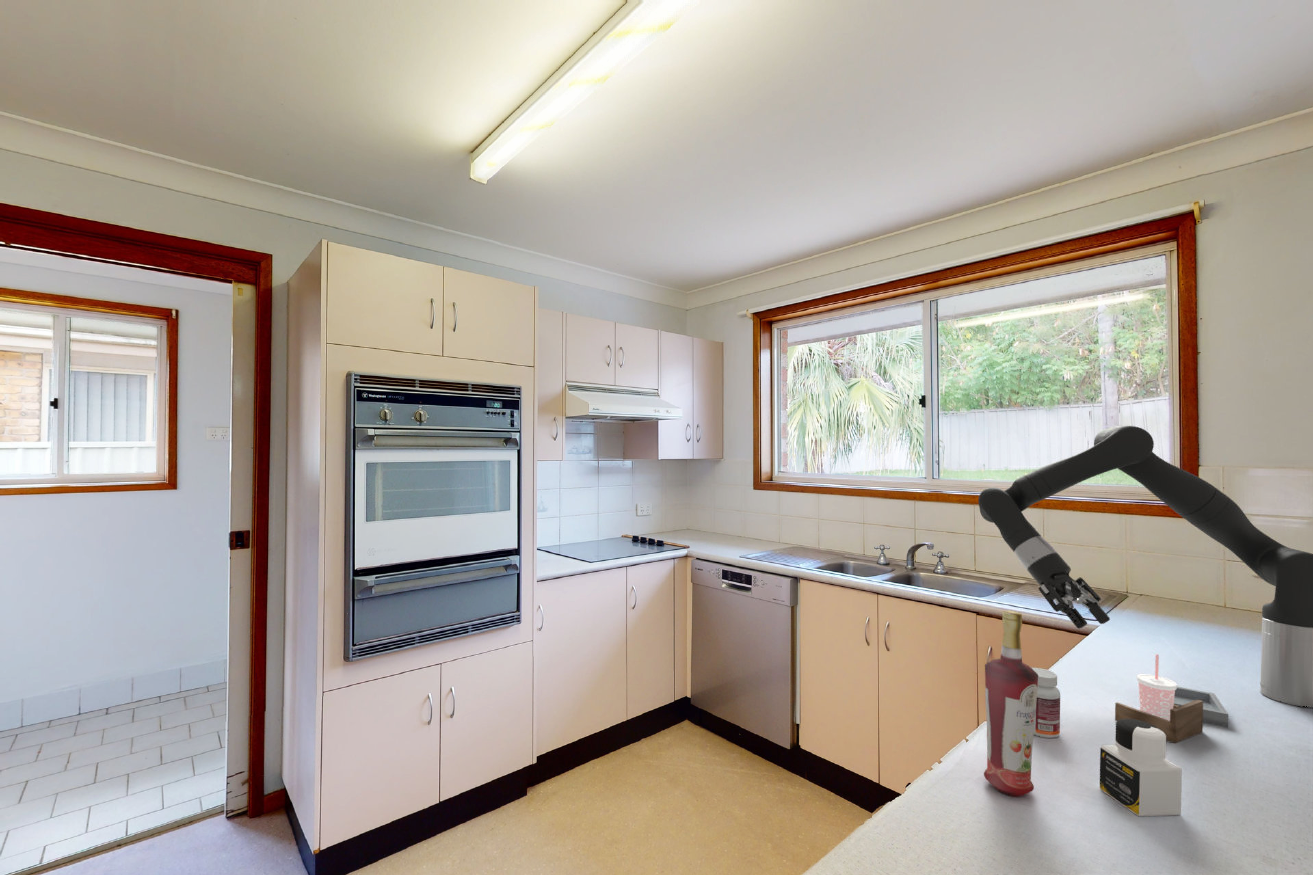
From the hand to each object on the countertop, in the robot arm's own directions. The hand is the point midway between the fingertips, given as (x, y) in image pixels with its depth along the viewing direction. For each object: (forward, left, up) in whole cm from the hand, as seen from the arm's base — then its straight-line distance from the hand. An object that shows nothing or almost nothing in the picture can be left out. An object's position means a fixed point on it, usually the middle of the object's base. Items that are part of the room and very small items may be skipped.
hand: (1094, 624), depth 127 cm
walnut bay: (-10, +6, -17) cm, 20 cm away
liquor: (+13, +49, -17) cm, 53 cm away
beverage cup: (-10, +6, -17) cm, 20 cm away
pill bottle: (+9, +23, -17) cm, 30 cm away
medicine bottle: (-4, +41, -17) cm, 44 cm away
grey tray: (-16, -8, -17) cm, 24 cm away
